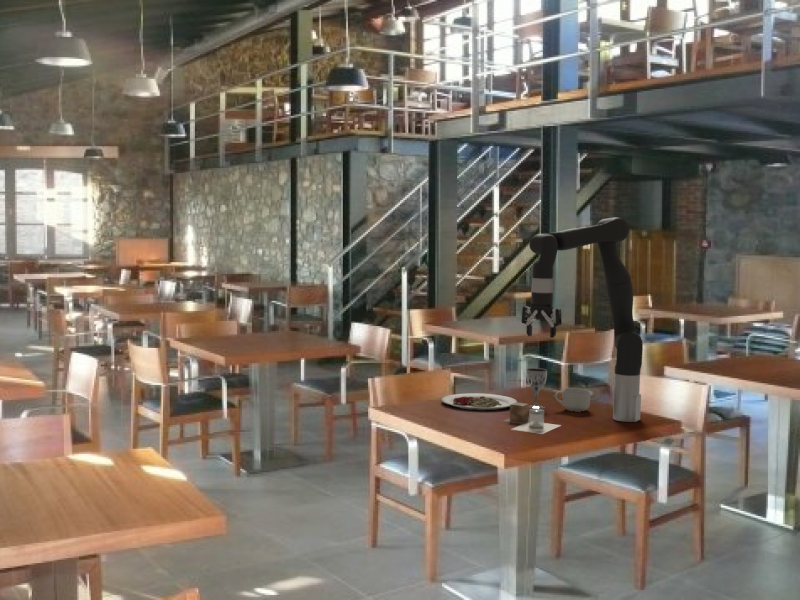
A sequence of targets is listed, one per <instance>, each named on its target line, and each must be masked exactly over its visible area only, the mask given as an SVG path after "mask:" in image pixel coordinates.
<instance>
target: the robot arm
mask: <svg viewBox="0 0 800 600" xmlns="http://www.w3.org/2000/svg"><path fill="white" fill-rule="evenodd" d="M629 233H630V226H629V224H628V222H627V221H626V220H625V219H624V218H621V217H609V218H602V219H601V220H599V221H598V222H597V223H596V224H595V225H592V226H591V225H590V226H584V227H576V228H575V227H574V228H569V229H565V230H559V231H556V232H547V233H540V234H539V233H538V234H535V235H534V236H532V237H531V239H530V240H529V243H528V244H529V249H530V251H531V252H532V253H533V254H536V255H539V259H538V261H535V262H534V263H533V265H532V281H531V288H530V289H531V291H530V292H531V294H530V295H531V297H530V299H531V300H530V301H531V302H530V303H531V304H530V307H529V306H522V312H521V323H522V324H524V325H526V335H527V336H528V337H532V335H533V323H534V322H536V320H537V321H539V320H541V321H546V322H547V323H548V324H549V326H550V328H549V329H550V330H549V331H550V332H549V335H550V336H549V338H551V339H553V338H555V337H556V336H557V327H560V326H561V325H562V308H553V307H554V306H553V305H554V303H553V302H554V299H553V298H554V279H553V278H554V265H555V262H556V258H557V254H558V251H567V250H568V251H569V250H572V249H577V248H580V247H585V246H588V245H592V244H597V245H598V248H599V254H600V257H601V261H602V268H603V272H604V280H605V287H606V293H607V297H608V302H609V303H608V304H609V307H610V312H611V316H612V321H613V341H614V342H613V343H614V347H615V348H616V361H615V365H614V378H613V379H614V381H613V405H612V406H613V407H612V408H613V409H612V410H613V411H612V412H613V413H612V419H613V420H614V421H618V422H624V423H625V422H628V423H637V422H638V421H640V420H641V413H642V412H641V408H642V395H641V393H640V388H641V387H640V385H641V370H642V366H643V365H642V364H643V351H644V349H643V347H644V345H643V344H644V343H643V340H642V337H641V336H640V335H639V334H638V333H637V330H636V327H635V322H634V318H633V317H634V314H633V313H634V311H633V310H634V289H633V283H632V277H631V275H630V272H629V271H628V269H627V267H626V266H625V264H624V263H623V261H622V260H621V258H620V256H619V253H618V247H617V243H621V242H623V241H625V240H626V239H627V237H629ZM529 313H531V315H530V317H529ZM552 314H554V315H555V318H554V317H553V315H552ZM554 319H555V320H554Z"/></svg>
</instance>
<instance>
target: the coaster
mask: <svg viewBox="0 0 800 600" xmlns="http://www.w3.org/2000/svg"><path fill="white" fill-rule="evenodd" d="M502 422H507V423H514V424H520V425H522V424H525V423H527V422H528V423H529V418H528V420H527V421H525V422H515V421H510V417H508V418H506V419H504V420H502Z"/></svg>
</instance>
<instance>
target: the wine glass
mask: <svg viewBox="0 0 800 600" xmlns="http://www.w3.org/2000/svg"><path fill="white" fill-rule="evenodd" d="M547 377H548V370H547V369H546V368H540V367H531V368H526V380H527V383H528V385H529V387H530V388H531V389H532V391H533V393H534V404H532V405H529V406H528V409H541V410H544V409H545V408H546V407H545V406H544V407H543V405H539V404H538V396H539V392H540V391H541V389H543V387H544V386H545V385H546V382H547Z"/></svg>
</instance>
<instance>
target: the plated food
mask: <svg viewBox="0 0 800 600" xmlns="http://www.w3.org/2000/svg"><path fill="white" fill-rule="evenodd" d="M441 402H442V403H444V404H447V405H449V406H453V407H456V408H458V409H465V410H475V411H477V410H478V411H491V410H492V411H495V410H502V409H506V408H508V407H509V408H510V404H513V403H516V402H517V403H518V401H517V399H515V398H512V397H510V396H507V395H506V396H504V395H500V394H494V393H478V392H477V393H476V392H475V393H473V392H472V393H471V392H470V393H457V394H456V393H455V394H449V395H446V396H443V397H442V398H441Z"/></svg>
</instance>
